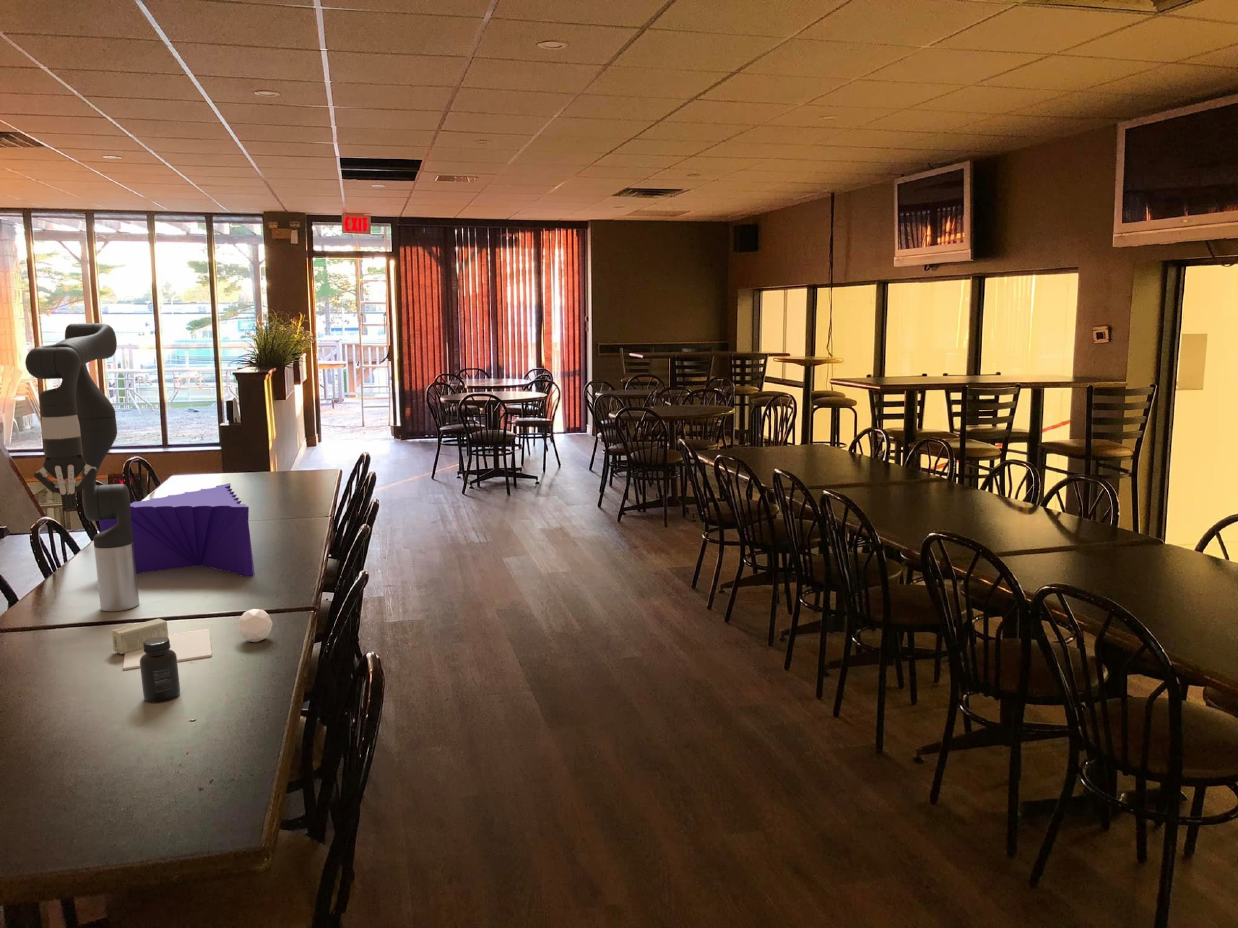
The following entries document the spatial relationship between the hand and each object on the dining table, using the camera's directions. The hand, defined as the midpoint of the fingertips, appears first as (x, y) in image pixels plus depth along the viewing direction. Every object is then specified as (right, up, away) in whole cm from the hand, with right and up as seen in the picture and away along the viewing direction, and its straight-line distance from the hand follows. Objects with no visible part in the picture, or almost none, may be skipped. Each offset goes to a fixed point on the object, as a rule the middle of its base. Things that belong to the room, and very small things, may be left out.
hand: (69, 509), depth 217 cm
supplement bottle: (+34, -37, -25) cm, 56 cm away
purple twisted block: (-4, -21, +82) cm, 84 cm away
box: (+11, -30, -2) cm, 32 cm away
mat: (+22, -33, +2) cm, 39 cm away
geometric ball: (+40, -32, +7) cm, 52 cm away
